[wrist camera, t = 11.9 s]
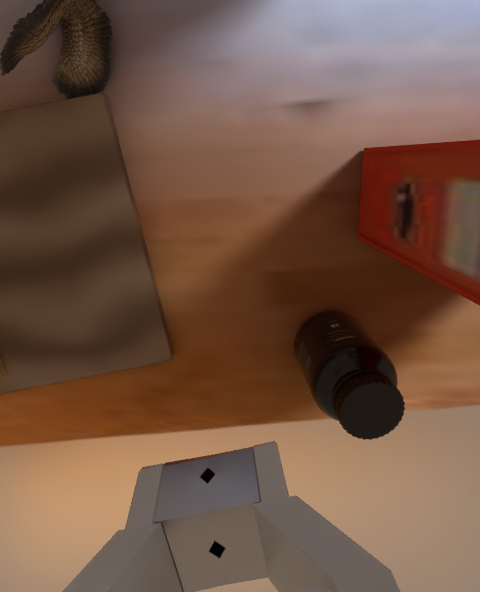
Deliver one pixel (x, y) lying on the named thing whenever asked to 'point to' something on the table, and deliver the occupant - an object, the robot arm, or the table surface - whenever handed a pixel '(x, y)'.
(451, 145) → the file binder
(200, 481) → the robot arm
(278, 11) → the table surface
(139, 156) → the table surface
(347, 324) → the supplement bottle
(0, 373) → the brass link
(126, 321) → the walnut base plate
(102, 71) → the eagle figurine
